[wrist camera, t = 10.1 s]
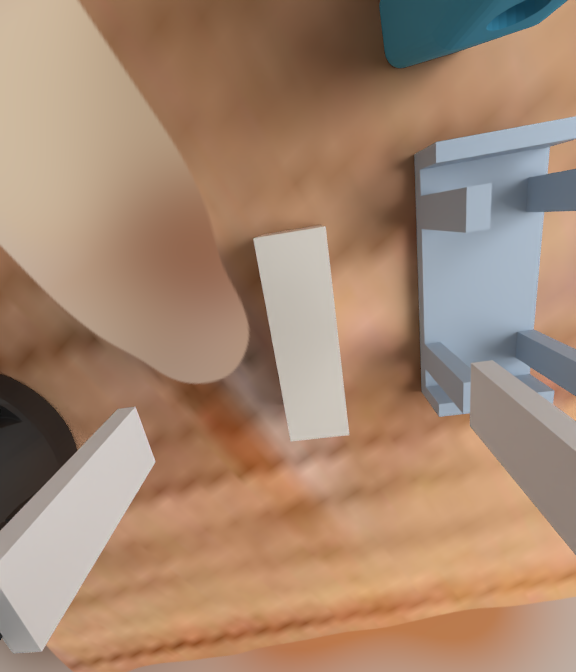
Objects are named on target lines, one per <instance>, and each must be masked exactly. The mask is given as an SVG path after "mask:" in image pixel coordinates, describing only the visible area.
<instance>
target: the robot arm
mask: <svg viewBox="0 0 576 672" xmlns="http://www.w3.org/2000/svg"><path fill="white" fill-rule="evenodd" d="M470 427H471V428H472V429H473V430H474V432H475V433H476V434H477V435H478V436H479V438H480V439H481V440H482V441H483V443H484V444H485V445H486V446H487V447H488V449H489V450H490V451H491V452H492V454H493V455H494V456H495V457H496V458H497V460H498V461H499V462H500V463H501V465H502V466H503V467H504V468H505V469H506V471H507V472H508V473H509V474H510V475H511V477H512V478H513V479H514V480H515V482H516V483H517V484H518V485H519V486H520V488H521V489H522V490H523V491H524V493H525V494H526V495H527V496H528V497H529V499H530V500H531V501H532V502H533V504H534V505H535V506H536V507H537V508H538V510H539V511H540V512H541V513H542V515H543V516H544V517H545V518H546V519H547V521H548V522H549V523H550V524H551V526H552V527H553V528H554V529H555V530H556V532H557V533H558V534H559V535H560V537H561V538H562V539H563V540H564V541H565V543H566V544H567V545H568V546H569V547H570V549H571V550H572V551H573V552H574V554H575V555H576V421H575V420H573V419H572V418H571V417H569V416H568V415H567V414H565V413H564V412H563V411H561V410H560V409H558V408H557V407H556V406H554V405H553V404H552V403H550V402H549V401H548V400H546V399H545V398H543V397H542V396H541V395H539V394H538V393H537V392H535V391H534V390H533V389H531V388H530V387H528V386H527V385H526V384H524V383H523V382H522V381H520V380H519V379H518V378H516V377H515V376H513V375H512V374H511V373H509V372H508V371H507V370H505V369H504V368H503V367H501V366H500V365H498V364H497V363H496V362H494V361H493V360H490V361H482V362H474V363H471V389H470ZM154 463H155V459H154V456H153V454H152V451H151V448H150V445H149V443H148V440H147V437H146V434H145V432H144V429H143V426H142V423H141V421H140V418H139V415H138V412H137V409H136V407H130V408H122V409H117V410H116V411H115V412H114V413H113V414H112V415H111V417H110V418H109V419H108V420H107V421H106V422H105V423H104V424H103V425H102V426H101V427H100V428H99V429H98V430H97V431H96V432H95V433H94V434H93V435H92V436H91V437H90V438H89V439H88V440H87V441H86V442H85V443H84V445H83V446H82V447H81V448H80V449H79V450H78V451H77V449H76V445H75V442H74V439H73V436H72V434H71V432H70V430H69V428H68V427H67V425H66V423H65V422H64V420H63V419H62V418H61V416H60V415H59V414H58V413H57V412H56V410H55V409H54V408H53V407H52V406H51V405H50V404H49V403H48V402H47V401H46V400H44V399H43V398H42V397H41V396H40V395H38V394H37V393H36V392H34V391H33V390H31V389H30V388H28V387H27V386H25V385H23V384H21V383H20V382H18V381H16V380H14V379H11V378H9V377H7V376H4V375H1V374H0V640H1V638H3V640H4V641H5V643H6V644H7V645H8V647H9V648H10V650H11V651H12V653H24V652H41V651H42V650H43V648H44V647H45V645H46V644H47V642H48V640H49V639H50V637H51V635H52V634H53V632H54V630H55V629H56V627H57V625H58V624H59V622H60V620H61V619H62V617H63V615H64V614H65V612H66V610H67V609H68V607H69V605H70V604H71V602H72V600H73V599H74V597H75V595H76V594H77V592H78V590H79V589H80V587H81V585H82V584H83V582H84V580H85V579H86V577H87V575H88V574H89V572H90V570H91V569H92V567H93V565H94V564H95V562H96V560H97V559H98V557H99V555H100V554H101V552H102V550H103V549H104V547H105V545H106V544H107V542H108V540H109V539H110V537H111V535H112V533H113V532H114V530H115V528H116V527H117V525H118V523H119V522H120V520H121V518H122V517H123V515H124V513H125V512H126V510H127V508H128V507H129V505H130V503H131V502H132V500H133V498H134V497H135V495H136V493H137V492H138V490H139V488H140V487H141V485H142V483H143V482H144V480H145V478H146V477H147V475H148V473H149V472H150V470H151V468H152V467H153V465H154Z"/></svg>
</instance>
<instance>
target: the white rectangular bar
mask: <svg viewBox="0 0 576 672" xmlns="http://www.w3.org/2000/svg"><path fill="white" fill-rule="evenodd" d="M253 240H254V245H255V251H256V256H257V262H258V267H259V272H260V278H261V283H262V289H263V294H264V300H265V305H266V310H267V316H268V321H269V327H270V332H271V337H272V343H273V348H274V354H275V359H276V365H277V370H278V375H279V381H280V386H281V392H282V397H283V402H284V408H285V413H286V419H287V424H288V430H289V435H290V440H291V441H298V440H308V439H317V438H326V437H335V436H344V435H349V428H348V419H347V410H346V401H345V393H344V384H343V375H342V366H341V358H340V349H339V340H338V331H337V322H336V314H335V305H334V296H333V287H332V279H331V270H330V261H329V252H328V243H327V235H326V226H322V225H317V226H311V227H305V228H299V229H293V230H286V231H280V232H274V233H268V234H262V235H260V236H257V237H255V238H253Z"/></svg>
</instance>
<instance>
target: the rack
mask: <svg viewBox="0 0 576 672" xmlns="http://www.w3.org/2000/svg"><path fill="white" fill-rule="evenodd" d="M574 139H576V117H570V118H565V119H559V120H554V121H549V122H543V123H538V124H532V125H527V126H521V127H516V128H510V129H505V130H500V131H494V132H489V133H483V134H478V135H472V136H467V137H461V138H456V139H450V140H445V141H440V142H435V143H434V144H432V145H430V146H428V147H427V148H425V149H423V150H421V151H419V152H418V153H416V154H414V162H415V194H416V227H417V259H418V291H419V324H420V356H421V388H422V393H423V395H424V396H425V397H426V399H427V400H428V402H429V403H430V404H431V406H432V407H433V409H434V410H435V412H436V413H437V414H438V416H439V417H441V416H450V415H458V414H467V413H470V389H471V363H474V362H482V361H490V360H493V361H494V362H496V363H497V364H498V365H500V366H501V367H503V368H504V369H505V370H507V371H508V372H509V373H511V374H512V375H513V376H515V377H516V378H518V379H519V380H520V381H522V382H523V383H524V384H526V385H527V386H528V387H530V388H531V389H533V390H534V391H535V392H537V393H538V394H539V395H541V396H542V397H543V398H545V399H546V400H548V401H549V402H550V403H552V404H553V398H554V390H553V389H551V388H550V387H548V386H547V385H545V384H544V383H542V382H541V381H539V380H538V379H536V378H535V377H533V376H532V375H530V367H531V368H533V369H534V370H536V371H537V372H539V373H540V374H542V375H544V376H545V377H547V378H548V379H550V380H551V381H553V382H554V383H556V384H558V385H559V386H561V387H562V388H564V389H565V390H567V391H569V392H570V393H572V394H573V395H575V396H576V349H574V348H572V347H570V346H568V345H565V344H563V343H561V342H559V341H557V340H555V339H553V338H551V337H548V336H546V335H544V334H542V333H540V332H538V331H536V330H534V320H535V309H536V297H537V286H538V275H539V263H540V252H541V241H542V229H543V218H544V212H552V211H576V169H573V170H567V171H562V172H556V173H551V174H547V173H548V161H549V150H550V146H554V145H557V144H561V143H564V142H568V141H571V140H574Z"/></svg>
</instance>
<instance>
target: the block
mask: <svg viewBox="0 0 576 672" xmlns="http://www.w3.org/2000/svg"><path fill="white" fill-rule="evenodd" d="M566 1H567V0H380V4H379V8H380V17H381V25H382V34H383V42H384V50H385V55H386V58H387V60H388V62H389V63H390V64H391V65H392V66H394V67H396V68H405V67H408V66H412V65H415V64H418V63H422V62H425V61H428V60H432V59H435V58H438V57H442V56H445V55H448V54H452V53H455V52H458V51H461V50H464V49H467V48H470V47H473V46H476V45H479V44H482V43H485V42H488V41H491V40H494V39H497V38H500V37H502V36H505V35H508V34H511V33H514V32H517V31H520V30H523V29H526V28H529V27H532V26H534V25H536V24H539V23H540V22H541V21H543V20H544V19H545V18H547V17H548V16H549V15H550V14H551V13H553V12H554V11H555V10H556V9H558V8H559V7H560V6H561V5H562V4H564V3H565V2H566Z"/></svg>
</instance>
